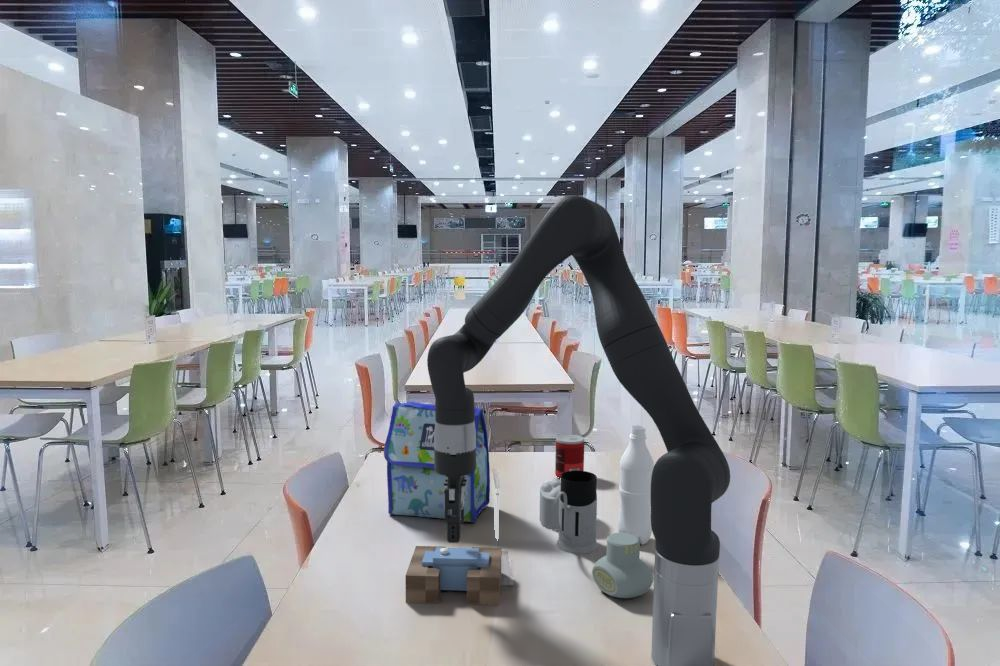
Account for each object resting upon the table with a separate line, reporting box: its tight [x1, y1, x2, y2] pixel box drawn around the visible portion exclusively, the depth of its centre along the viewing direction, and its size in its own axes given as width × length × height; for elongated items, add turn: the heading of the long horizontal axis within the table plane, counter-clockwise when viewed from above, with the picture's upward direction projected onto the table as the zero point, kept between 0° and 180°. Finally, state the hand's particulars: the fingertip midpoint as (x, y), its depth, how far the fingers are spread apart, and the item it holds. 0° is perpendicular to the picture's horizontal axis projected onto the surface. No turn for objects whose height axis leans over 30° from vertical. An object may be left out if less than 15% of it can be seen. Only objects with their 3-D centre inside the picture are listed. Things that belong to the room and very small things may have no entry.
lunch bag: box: [383, 401, 491, 523], centre depth 159 cm, size 22×17×26 cm
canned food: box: [554, 434, 585, 478], centre depth 185 cm, size 8×8×11 cm
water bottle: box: [617, 424, 655, 545], centre depth 143 cm, size 7×7×25 cm
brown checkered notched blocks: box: [405, 545, 503, 606], centre depth 124 cm, size 12×16×5 cm
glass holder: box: [554, 470, 599, 555], centre depth 139 cm, size 9×14×15 cm, turn 146°
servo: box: [422, 546, 490, 592], centre depth 124 cm, size 4×12×7 cm, turn 88°
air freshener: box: [591, 532, 654, 599], centre depth 123 cm, size 11×8×10 cm
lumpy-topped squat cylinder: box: [539, 478, 561, 531], centre depth 156 cm, size 10×13×9 cm
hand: (455, 532), depth 123 cm, fingers open, 8 cm apart
